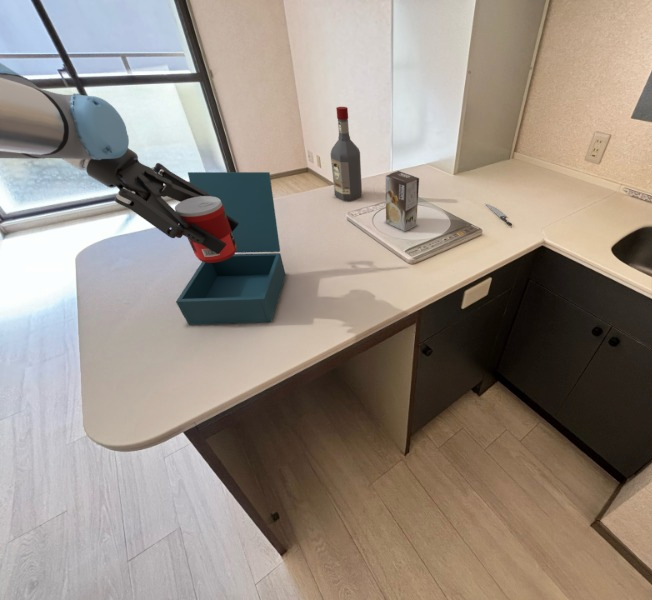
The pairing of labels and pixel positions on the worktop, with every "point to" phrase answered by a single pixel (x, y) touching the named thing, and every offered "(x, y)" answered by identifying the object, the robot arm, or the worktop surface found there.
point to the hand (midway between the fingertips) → (229, 238)
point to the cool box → (234, 290)
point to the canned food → (208, 226)
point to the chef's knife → (499, 214)
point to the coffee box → (401, 200)
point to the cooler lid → (244, 206)
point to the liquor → (346, 162)
